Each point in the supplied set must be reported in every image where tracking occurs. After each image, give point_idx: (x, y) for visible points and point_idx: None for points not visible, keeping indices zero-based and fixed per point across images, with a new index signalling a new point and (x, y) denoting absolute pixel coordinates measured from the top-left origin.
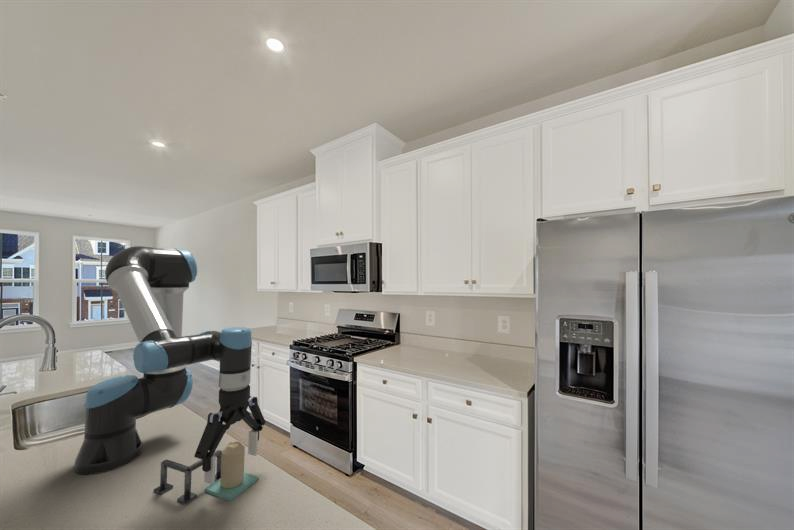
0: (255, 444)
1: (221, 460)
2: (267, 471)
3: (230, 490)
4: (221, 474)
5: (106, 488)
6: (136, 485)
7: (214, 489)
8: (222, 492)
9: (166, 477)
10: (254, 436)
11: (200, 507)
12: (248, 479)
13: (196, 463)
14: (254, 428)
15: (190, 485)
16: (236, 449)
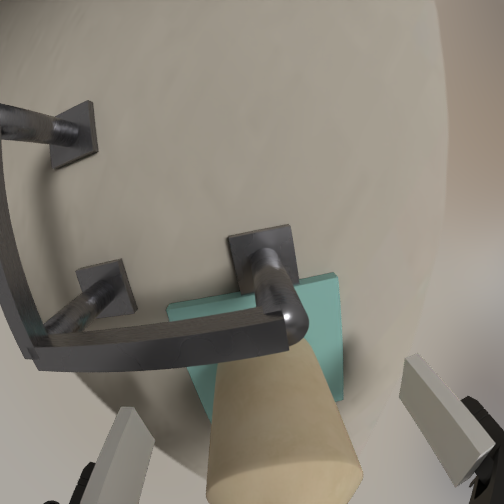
0: (426, 435)
1: (211, 445)
2: (391, 370)
3: None
4: (214, 396)
5: (28, 12)
6: (55, 37)
7: None
8: (206, 386)
9: (46, 138)
10: (448, 463)
11: None
12: None
13: (70, 360)
14: (486, 473)
15: (88, 325)
16: None
